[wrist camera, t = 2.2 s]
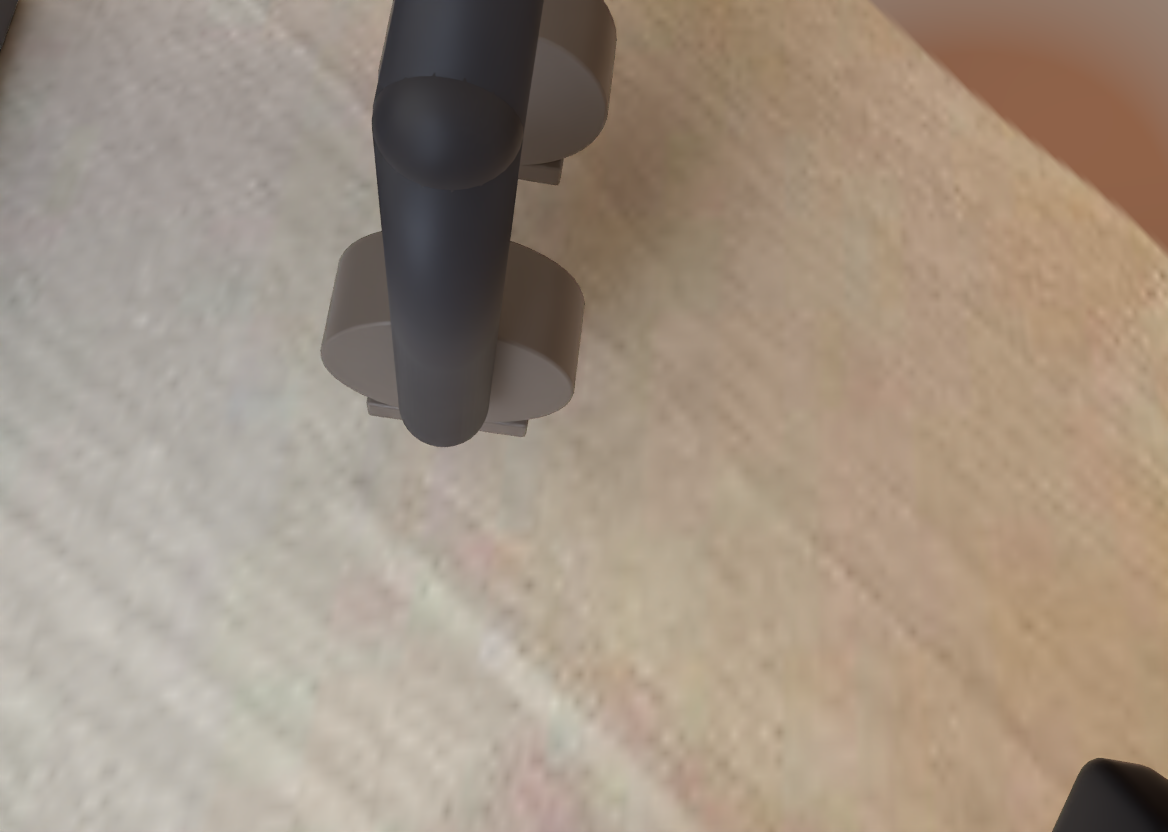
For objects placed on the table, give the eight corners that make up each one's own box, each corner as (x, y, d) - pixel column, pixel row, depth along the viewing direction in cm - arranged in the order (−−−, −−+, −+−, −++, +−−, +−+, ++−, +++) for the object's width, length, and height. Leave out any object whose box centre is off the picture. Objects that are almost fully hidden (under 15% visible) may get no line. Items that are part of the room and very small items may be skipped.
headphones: (550, 502, 20) (668, 184, 10) (321, 470, 19) (198, 107, 9) (603, 77, 23) (734, -501, 13) (406, 43, 22) (382, -576, 12)
